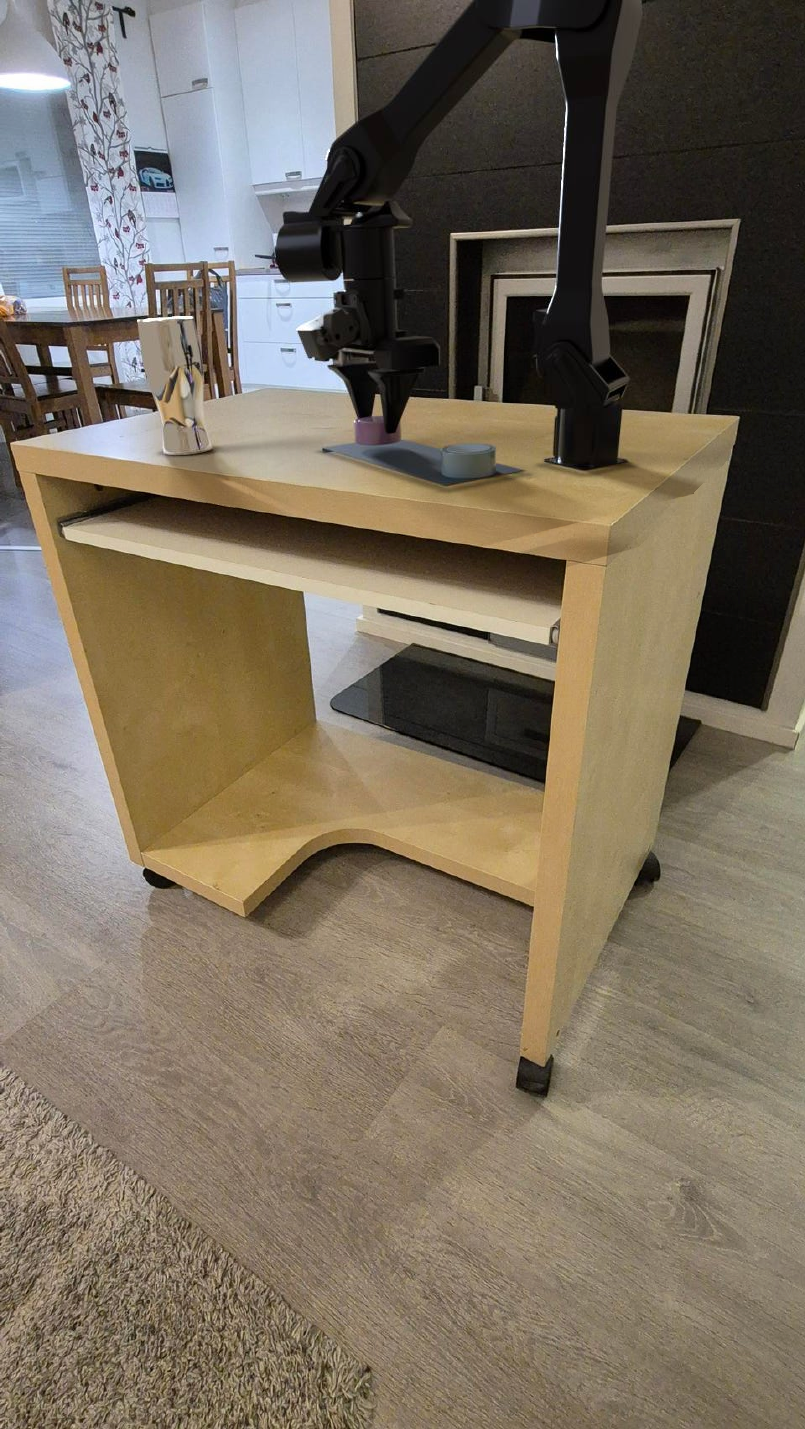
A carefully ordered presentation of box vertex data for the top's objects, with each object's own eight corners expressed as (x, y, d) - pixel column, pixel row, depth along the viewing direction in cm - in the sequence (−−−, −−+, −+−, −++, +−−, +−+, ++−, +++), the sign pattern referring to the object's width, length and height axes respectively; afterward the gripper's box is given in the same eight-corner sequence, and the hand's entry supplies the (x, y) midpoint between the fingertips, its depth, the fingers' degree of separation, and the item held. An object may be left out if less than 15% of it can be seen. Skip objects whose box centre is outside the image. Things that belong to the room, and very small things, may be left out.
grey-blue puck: (507, 473, 78) (507, 448, 77) (462, 481, 76) (462, 456, 75) (473, 464, 83) (473, 440, 81) (430, 472, 80) (430, 447, 79)
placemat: (524, 475, 79) (524, 470, 79) (445, 491, 75) (445, 485, 75) (391, 440, 99) (391, 436, 98) (322, 451, 94) (321, 447, 94)
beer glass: (201, 456, 95) (179, 319, 87) (149, 456, 96) (123, 321, 88) (224, 445, 100) (205, 316, 93) (175, 445, 102) (152, 318, 94)
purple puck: (410, 440, 91) (409, 418, 90) (369, 447, 89) (368, 424, 88) (385, 434, 95) (384, 413, 94) (346, 440, 93) (344, 419, 92)
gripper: (266, 284, 87) (282, 429, 95) (346, 281, 73) (357, 451, 81) (351, 280, 92) (360, 418, 100) (442, 276, 78) (444, 437, 86)
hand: (377, 430), depth 92 cm, fingers closed on purple puck, 5 cm apart
